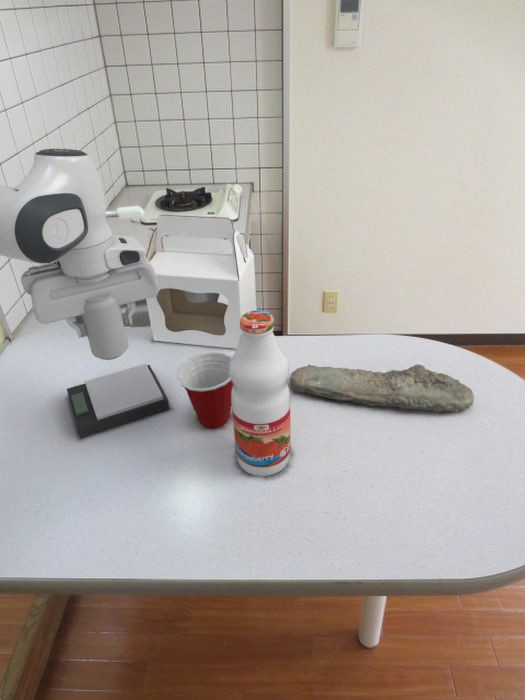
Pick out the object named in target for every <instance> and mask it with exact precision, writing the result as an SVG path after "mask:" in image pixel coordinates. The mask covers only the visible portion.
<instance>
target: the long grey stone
mask: <svg viewBox="0 0 525 700" xmlns="http://www.w3.org/2000/svg"><path fill="white" fill-rule="evenodd" d="M288 379H289V386H290V388H292V390H293V391H294V392H297V393H302V394H309V395H311V396H315V397H323V398H326V399H333V400H335V401H338V402H339V401H340V402H342V401H345V402H347V401H348V402H351V403H355V404H359V405H361V404H364V405H367V406H369V407H375V406H377V407H379V406H382V407H383V406H384V407H391V408H399V410H412V411H413V410H417V411H418V410H419V411H427V412H435V413H442V412H443V411H444V412H458V411H463V410H466V409H470V407H471V406H473V403H474V399H475V396H474V391H473V390H472V389H471V388H470V387H469V386H468V385H465V384H462V383H461V381H460V380H459V379H455V378H453V376H452V377H451V376H450V375H448V374H445V373H441V372H436V371H432V370H430V369H426V367H425V365H422V364H420V363H419V364H414V365H411V366H410V367H409V368H407V369H402V370H398V369H397V370H396V369H391V370H389V371H385V372H382V371H372V370H366V369H359V368H357V369H354V368H344V367H333V366H317V365H312V364H308V365H307V366H305V365H304V366H302V367H297V368H296V369H295V370H293V371H292V372H291V374H290V378H288Z"/></svg>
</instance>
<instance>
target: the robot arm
mask: <svg viewBox="0 0 525 700" xmlns="http://www.w3.org/2000/svg"><path fill="white" fill-rule="evenodd" d="M146 255H147V251H146V249H145V247H144V245H143V244H142V243H141V241H140V240H138V239H137V238H136V237H135V236H131V235H120V234H113V231H112V228H111V226H110V225H109V223H108V220H107V203H106V198H105V194H104V190H103V186H102V182H101V178H100V176H99V172H98V170H97V167H96V165H95V163H94V161H93V159H92V157H91V156H90V155H89V154H88V153H86V152H85V151H83V150H78V149H70V148H46V149H41V150H38V151H36V152H35V153H34V155H33V164H32V165H31V168H30V170H29V171H28V173H27V174H26V176H25V177H24V178H23V180H22V181H21V182H20V183H19V184H17V185H16V186H10V185H9V186H8V185H2V184H0V257H5V258H9V259H14V260H19V261H24V262H29V263H33V264H34V263H35V264H41V265H33V266H30V267H28V270H26V271H24V272H23V273H22V275H21V277H20V282H21V285H22V288H23V290H24V292H25V293H26V294H27V295H30V300H31V305H32V310H33V313H34V317H35V320H36V321H37V322H38V323H41V324H42V325H46V324H51V323H55V322H58V321H62V320H65V321H66V324H67V325H68V326H70V327H71V328H72V329H73V330H75V331H76V334H77V336H78V339H82V338H84V337H85V338H86V337H87V336H88V335H87V332H86V328H85V326H84V322H82V323H78V322H77V319H76V317H78V316H82V315H83V314H85V310H84V307H85V305H86V302H85V300H89V299H95V298H99V297H104V296H106V295H110V294H112V296H111V297H112V298H114V299H115V300H116V302H117V305H118V306H119V305H120V306H123V305H125V306H126V309H125V311H124V312H121V313H122V318H123V322H124V327H126V326H130V325H133V318H132V316H133V314H134V312H135V310H136V308H137V305H136V302H140V301H143V300H146V299H148V298H152V297H155V296H157V294H158V292H159V290H160V289H159V284H158V280H157V276H156V273H155V271H154V268H153V266H152V265H151V263H150V262H149V260H148V259H147V258H146Z"/></svg>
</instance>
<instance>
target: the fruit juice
mask: <svg viewBox="0 0 525 700" xmlns="http://www.w3.org/2000/svg"><path fill="white" fill-rule="evenodd" d="M256 310H257V311H250V312H247V313H245V314H244V315H242V317H241V318H240V329H241V331H242V335H241V338H240V341H239V344H238V347H237V349H235V352H234V354H233V355H232V359H231V361H230V366H229V373H230V377H231V380H232V383H233V387H232V391H231V416H232V427H233V437H234V448H235V449H234V450H235V457H236V459H237V460H236V461H237V463H238V465H239V467H240V468H241V470H243V471H244V472H245V473H248V474H249V475H253V476H255V477H256V476H257V477H268V476H273V475H276V474H278V473H280V472H282V471H283V470H284V469H285V468H286V467H287V466H288V464H289V462H290V459H291V453H292V449H291V447H292V445H291V444H292V443H291V442H292V441H291V439H292V438H291V437H292V435H291V432H292V431H291V393H290V387H289V384H288V379H289V374H290V363H289V360H288V358H287V356H286V354H285V353H284V351H282V349H281V347H280V345H279V343H278V340H277V338H276V336H275V333H274V329H275V319H274V318H275V317H274V315H273V314H272V313H270V312H268V311H266V310H258V309H256Z"/></svg>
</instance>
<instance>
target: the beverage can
mask: <svg viewBox="0 0 525 700" xmlns="http://www.w3.org/2000/svg"><path fill="white" fill-rule="evenodd" d="M111 296H112V294H110V295H106V296H104V297H99V298H95V299H89V300H85V302H86V305H85V307H84V310H85V314H83V315H81V318H82V323H84V326H85V328H86V332H87V335H88V336H86V337H87V340H88V344H89V347H90V351H91V354H92V355H93V357H95V358H97V359H100V360H104V361H111V360H116V359H118V358H120V357H122V356H123V355H124V354H125V353H126V352H127V350H128V349H129V345H130V344H129V341H128V336H127V332H126V326H124V322H123V318H122V313H123V312H122V309H121V305H119V306H118V305H117V302H116V300H115V299H114V298H112V297H111Z"/></svg>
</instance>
